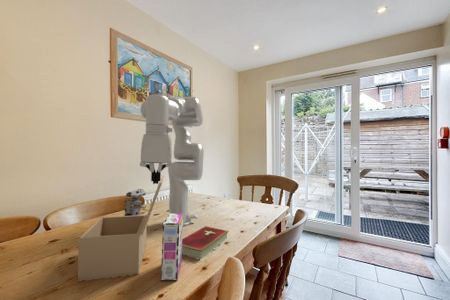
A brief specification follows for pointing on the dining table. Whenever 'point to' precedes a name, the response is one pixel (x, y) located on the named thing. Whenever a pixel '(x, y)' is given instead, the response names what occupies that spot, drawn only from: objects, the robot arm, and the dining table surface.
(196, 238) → the hardcover book
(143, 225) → the carton lid
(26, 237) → the dining table surface
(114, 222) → the carton
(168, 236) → the candy bar box
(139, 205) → the figurine
